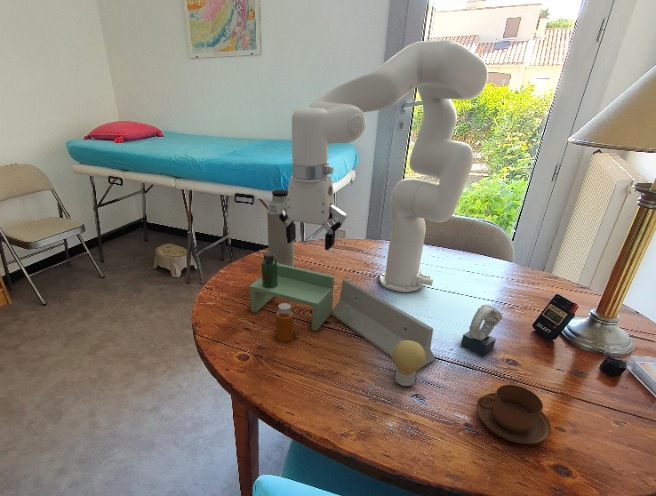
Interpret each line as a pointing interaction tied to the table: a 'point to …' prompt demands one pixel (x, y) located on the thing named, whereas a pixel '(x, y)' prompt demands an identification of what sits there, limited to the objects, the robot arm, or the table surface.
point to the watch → (482, 331)
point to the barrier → (380, 320)
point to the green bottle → (269, 270)
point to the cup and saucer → (514, 415)
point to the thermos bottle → (279, 231)
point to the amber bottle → (284, 323)
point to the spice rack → (298, 291)
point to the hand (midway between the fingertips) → (309, 244)
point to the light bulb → (407, 361)
